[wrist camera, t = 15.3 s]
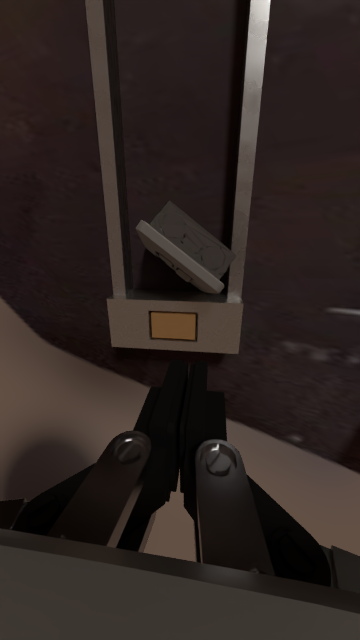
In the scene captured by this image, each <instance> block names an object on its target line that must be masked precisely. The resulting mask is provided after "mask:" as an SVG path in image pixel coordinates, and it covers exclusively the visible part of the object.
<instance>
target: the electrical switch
mask: <svg viewBox="0 0 360 640" xmlns="http://www.w3.org/2000/svg"><path fill="white" fill-rule="evenodd" d="M136 230H137V232H138V234H139V236H140V238H141V240H142V242H143V244H144V246H145V247H146V248H147V249H148V250H149V251H150V252H151V253H153V254H154V255H155V256H156V257H158V258H159V259H160V260H162V261H163V262H164V263H166V264H167V265H168V266H169V267H171V268H172V269H173V270H175V271H176V273H177V274H178V275H179V276H180V277H181V278H183V279H184V280H185V281H187V282H190V283H191V284H193V285H194V286H195V287H197V288H198V289H199V290H201V291H203V292H204V293H217V294H219V293H220V292H221V291H222V290H223V288H224V284H223V283H222V282H221V281H219V280H220V278H221V277H222V276H223V275H224V273H225V272H226V270H227V268H228V266H229V265H230V263H231V262H232V261H233V260H234V258H235V257H236V254H234V253H233V252H232V251H231V250H229V249H228V248H227V247H226V246H225V245H223V244H222V243H221V242H220V241H218V240H217V239H216V238H215V237H214V236H212V235H211V234H210V233H209V232H207V231H206V230H205V229H204V228H203V227H201V226H200V225H199V224H198V223H196V222H195V221H194V220H193V219H192V218H190V217H189V216H188V215H187V214H185V213H184V212H183V211H182V210H181V209H179V208H178V207H177V206H176V205H174V204H173V203H172V202H171V201H170V200H168V202H167V203H166V205H165V206H164V207H163V209H162V210H161V212H160V213H159V214H157V215H156V217H155V218H154V219H153V221H152V222H151V223H150V224H147V223H146V222H145V221H143V220H141V221H140V223H139V224H138V226H137V227H136ZM185 233H186V237H185V238H184V237H183V236H184V234H185ZM201 247H202V249H201V250H200V248H201ZM220 247H221V248H220ZM221 249H222V250H221ZM224 259H225V261H224Z"/></svg>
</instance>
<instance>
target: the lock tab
mask: <svg viewBox="0 0 360 640" xmlns="http://www.w3.org/2000/svg"><path fill="white" fill-rule="evenodd" d="M151 323H152V337H155V338H174V339H192V340H195V335H196V327H197V313H196V312H172V311H152V313H151Z"/></svg>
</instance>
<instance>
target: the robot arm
mask: <svg viewBox="0 0 360 640" xmlns="http://www.w3.org/2000/svg"><path fill="white" fill-rule="evenodd" d="M207 367H208V362H206V361H196V363H195V364H191V366H190V372H189V378H188V364H187V363H183V360H174V359H171V361H170V364H169V367H168V370H167V373H166V376H165V379H164V382H163V385H162V387H151V388H150V390H149V393H148V395H147V398H146V400H145V403H144V405H143V407H142V410H141V413H140V415H139V417H138V420H137V422H136V425H135V427H134V430H133V431H126V432H124V433H121V434H119V435H118V436H116V437H115V438H113V440H112V441H111V442H110V443H109V444H108V446H107V447H106V449H105V450H104V452H103V453H102V455H101V456H100V458H99V459H98V461H97V462H96V463H94V464H93V465H91V466H89V467H88V468H86V469H84V470H82V471H80V472H79V473H77V474H75V475H73V476H72V477H70V478H68V479H66V480H65V481H63V482H61V483H59V484H57V485H56V486H54V487H52V488H50V489H48V490H47V491H45V492H43V493H41V494H40V495H38V496H37V497H35V498H34V499H32V500H31V501H30V502H27V501H26V499H25V498H22V499H14V500H5V501H0V640H360V556H357V555H355V554H352V553H350V552H348V551H345V550H342V549H340V548H337V547H335V546H331V549H329V548H326V547H324V546H321V545H319V544H318V542H317V541H316V540H315V539H314V538H313V537H312V536H311V534H309V533H308V532H307V531H306V530H305V529H304V528H303V527H302V526H301V525H300V524H299V523H298V522H297V521H296V520H295V519H293V517H292V516H290V515H289V514H288V513H287V512H286V511H285V510H284V509H283V508H282V507H281V506H280V505H279V504H278V503H276V501H274V500H273V499H272V498H271V497H270V496H269V495H268V494H267V493H266V492H265V491H264V490H263V489H262V488H261V487H260V486H259V485H258V484H256V483H255V482H254V481H253V480H252V479H251V478H250V477H249V476H248V475H247V474H246V471H245V468H244V464H243V461H242V458H241V455H240V453H239V451H238V450H237V449H236V448H235V447H234V446H233V445H231V444H230V443H228V442H227V436H226V435H227V433H226V415H225V398H224V392H215V391H207ZM179 469H180V492H181V493H184V507H185V509H186V510H187V512H188V513H189V514H190V516H191V517H192V519H193V520H194V540H195V557H196V562H192V561H187V560H181V559H176V558H170V557H164V556H158V555H152V554H147V553H143V552H144V549H145V546H146V543H147V540H148V537H149V534H150V532H151V529H152V526H153V523H154V520H155V515H156V510H158V509H159V508H160V507H161V506H163V505H164V504H165V501H167V502H169V499H170V493H171V491H173V492H176V489H177V483H178V476H179Z"/></svg>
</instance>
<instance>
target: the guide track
mask: <svg viewBox="0 0 360 640" xmlns="http://www.w3.org/2000/svg"><path fill="white" fill-rule="evenodd" d="M85 4H86V14H87V25H88V35H89V45H90V56H91V66H92V76H93V87H94V97H95V107H96V118H97V128H98V139H99V149H100V159H101V170H102V180H103V190H104V201H105V211H106V221H107V232H108V242H109V252H110V263H111V273H112V283H113V295H112V296H110V297H109V298H107V305H108V314H109V324H110V333H111V342H112V347H127V348H144V349H161V350H178V351H195V352H212V353H230V354H238V351H239V341H240V332H241V322H242V312H243V302H242V300H241V293H242V283H243V273H244V263H245V253H246V243H247V233H248V222H249V212H250V202H251V192H252V182H253V172H254V162H255V151H256V141H257V131H258V121H259V111H260V101H261V91H262V81H263V70H264V60H265V50H266V40H267V30H268V20H269V10H270V0H248V1H247V14H246V28H245V41H244V55H243V68H242V81H241V95H240V108H239V122H238V135H237V148H236V162H235V175H234V189H233V202H232V215H231V229H230V242H229V250H231V251H232V252H233V253H234V254H236V257H235V258H234V260H233V261H232V262H231V263H230V265H229V266H228V269H227V282H226V292H220V293H219V294H217V293H204V292H203V291H179V290H147V289H133V279H132V264H131V249H130V234H129V219H128V203H127V188H126V173H125V158H124V143H123V128H122V113H121V98H120V82H119V67H118V52H117V37H116V22H115V7H114V0H85ZM152 311H172V312H196V313H197V327H196V335H195V340H192V339H174V338H155V337H152V323H151V313H152Z"/></svg>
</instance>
